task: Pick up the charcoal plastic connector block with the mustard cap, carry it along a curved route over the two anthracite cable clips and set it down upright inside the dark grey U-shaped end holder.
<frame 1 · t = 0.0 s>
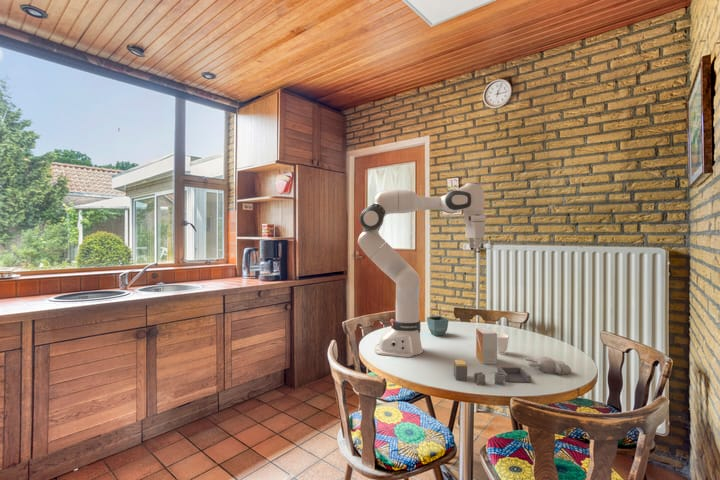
hand: (474, 248, 158), 48 cm above the table, fingers open, 8 cm apart
end holder: (513, 377, 129), on the table
bunny figurine: (548, 371, 135), on the table
small box: (486, 361, 147), on the table
clip a: (479, 383, 124), on the table
flower pot: (437, 335, 187), on the table
cup: (497, 353, 157), on the table
connector: (460, 377, 129), on the table
clip b: (499, 383, 124), on the table
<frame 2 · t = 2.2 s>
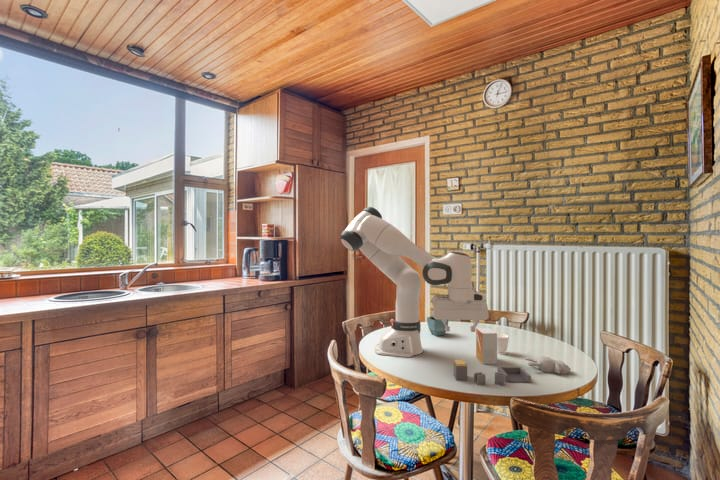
hand: (460, 331, 129), 17 cm above the table, fingers open, 8 cm apart
nothing on the table moved.
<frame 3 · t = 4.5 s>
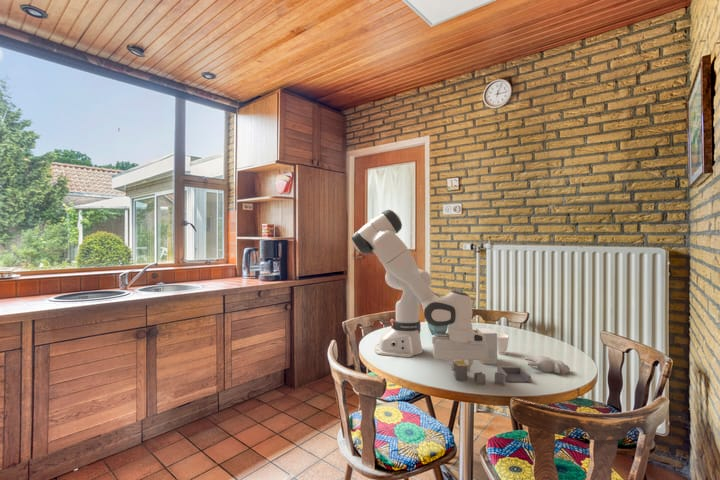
hand: (460, 370, 129), 3 cm above the table, fingers closed on connector, 4 cm apart
connector: (460, 377, 129), on the table, touching gripper
everything else where it was.
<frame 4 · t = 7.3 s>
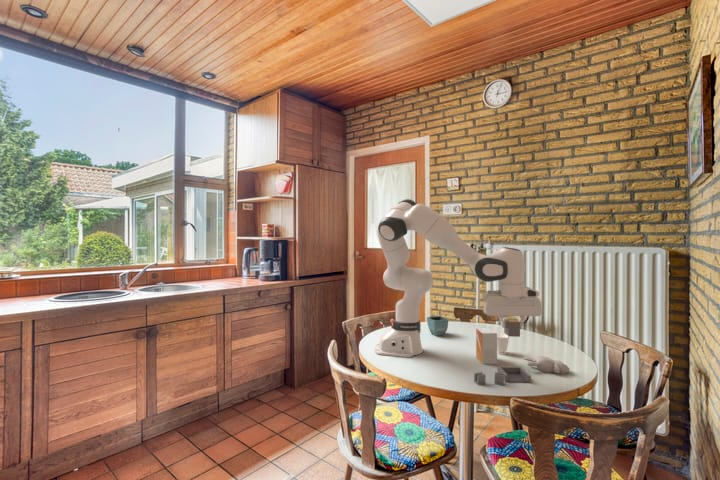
hand: (512, 327, 128), 19 cm above the table, fingers closed on connector, 4 cm apart
connector: (512, 334, 128), point 16 cm above the table, touching gripper
everything else where it was.
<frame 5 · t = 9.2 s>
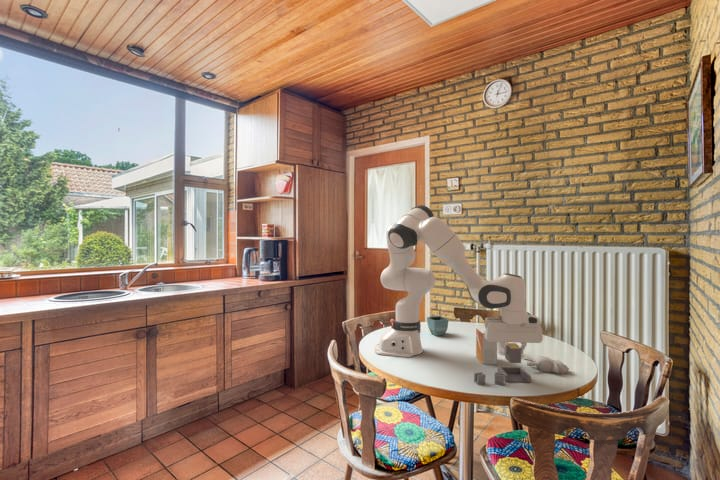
hand: (512, 353, 128), 9 cm above the table, fingers closed on connector, 4 cm apart
connector: (513, 360, 128), point 7 cm above the table, touching gripper
everything else where it was.
when the fingers open (4 cm above the table, at t = 10.6 s): connector drops 1 cm, resting on end holder.
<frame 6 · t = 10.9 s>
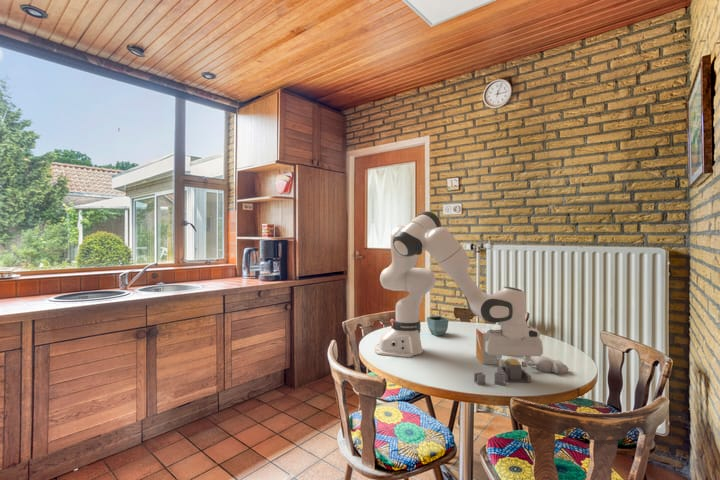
hand: (513, 366, 129), 4 cm above the table, fingers open, 7 cm apart
connector: (513, 376, 129), resting on end holder
everything else where it was.
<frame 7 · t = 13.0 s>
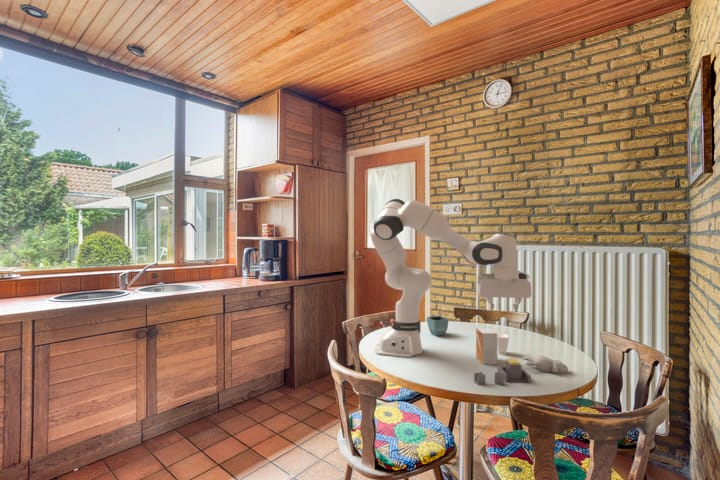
hand: (503, 308, 137), 24 cm above the table, fingers open, 8 cm apart
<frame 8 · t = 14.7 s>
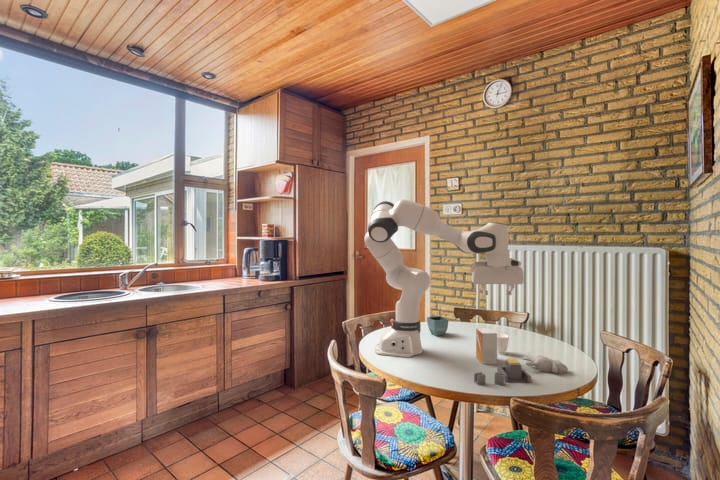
hand: (497, 294, 141), 29 cm above the table, fingers open, 8 cm apart
at the end: connector inside the target area on the end holder (0.3 cm from its centre), point 0.4 cm above the end holder's base; connector tilted 0°; the gripper is holding nothing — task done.
